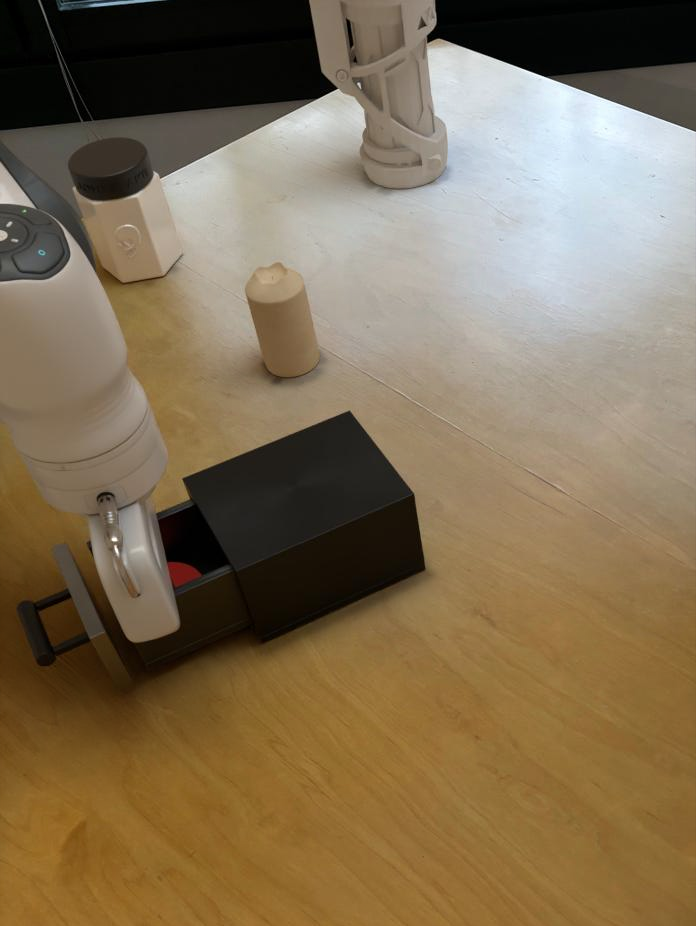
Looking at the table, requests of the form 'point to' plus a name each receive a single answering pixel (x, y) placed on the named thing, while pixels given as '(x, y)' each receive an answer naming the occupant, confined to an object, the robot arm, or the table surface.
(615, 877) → the table surface
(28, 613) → the drawer
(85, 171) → the jar
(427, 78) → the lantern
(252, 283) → the candle
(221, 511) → the cabinet
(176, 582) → the lid
